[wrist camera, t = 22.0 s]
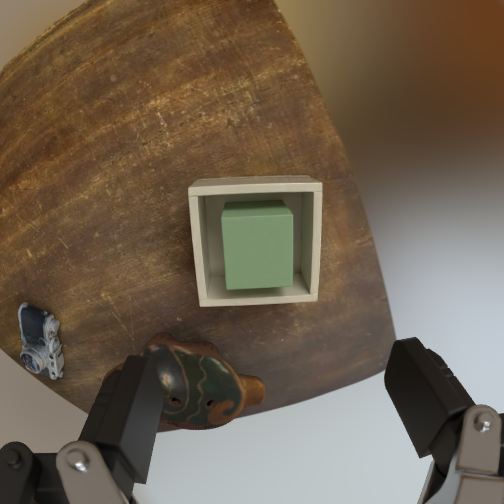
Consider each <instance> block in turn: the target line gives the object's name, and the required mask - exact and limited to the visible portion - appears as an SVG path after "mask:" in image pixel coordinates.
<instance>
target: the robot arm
mask: <svg viewBox="0 0 504 504" xmlns="http://www.w3.org/2000/svg"><path fill="white" fill-rule="evenodd" d="M384 382H385V387H386V390H387V392H388V394H389V396H390V398H391V400H392V402H393V404H394V405H395V408H396V410H397V412H398V414H399V416H400V418H401V420H402V422H403V424H404V426H405V428H406V430H407V433H408V435H409V437H410V439H411V441H412V443H413V445H414V447H415V450H416V452H417V454H418V456H419V458H423V457H425V456H428V455H431V454H432V457H433V461H432V462H431V465H430V468H429V472H428V474H427V477H426V481H425V484H424V487H423V489H422V492H421V495H420V498H419V501H418V503H417V504H504V413H501V414H498V413H497V412H496V410H494V409H493V408H491V407H490V406H487V405H482V404H481V405H476V404H475V403H474V401H473V400H472V398H471V397H470V396H469V394H468V393H467V391H466V390H465V389H464V387H463V386H462V385H461V383H460V382H459V380H458V379H457V378H456V377H455V376H454V375H453V372H452V371H451V370H450V368H448V366H447V364H446V363H445V362H444V360H443V359H442V358H441V356H439V355H438V354H436V353H435V352H433V351H432V350H430V349H426V348H425V347H424V346H423V344H422V343H421V342H420V341H419V339H418V338H416V337H412V338H407V339H402V340H396V341H395V342H394V344H393V347H392V350H391V354H390V357H389V361H388V364H387V367H386V371H385V375H384ZM162 406H163V390H162V386H161V383H160V380H159V376H158V373H157V370H156V366H155V363H154V360H153V358H152V357H151V356H138V355H129V356H128V357H127V359H126V361H125V364H124V366H123V368H122V370H118V369H115V370H114V371H113V372H112V373H111V374H110V375H108V376H107V377H106V378H105V380H104V382H103V384H102V386H101V388H100V390H99V393H98V395H97V397H96V399H95V403H94V404H93V406H92V408H91V411H90V413H89V415H88V418H87V420H86V423H85V425H84V427H83V430H82V432H81V435H80V437H79V439H78V440H77V441H73V442H70V443H68V444H66V445H65V446H63V447H62V448H61V449H60V451H59V452H58V453H33V452H32V451H31V450H30V449H29V448H28V447H27V446H26V445H25V444H24V443H21V442H10V443H8V444H6V445H4V446H3V447H2V448H1V449H0V504H139V502H138V501H137V499H136V498H135V496H134V494H133V493H132V491H133V486H134V482H135V483H141V484H146V480H147V475H148V470H149V466H150V461H151V456H152V451H153V446H154V442H155V437H156V433H157V428H158V424H159V419H160V415H161V411H162Z"/></svg>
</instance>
